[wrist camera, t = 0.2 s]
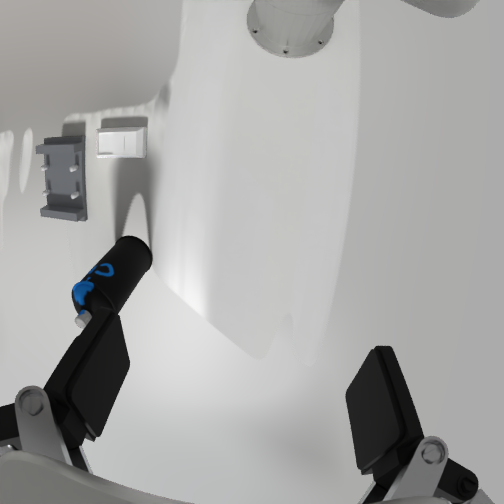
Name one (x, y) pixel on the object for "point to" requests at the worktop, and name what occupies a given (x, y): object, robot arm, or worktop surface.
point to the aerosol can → (111, 279)
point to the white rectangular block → (121, 142)
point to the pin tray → (64, 177)
